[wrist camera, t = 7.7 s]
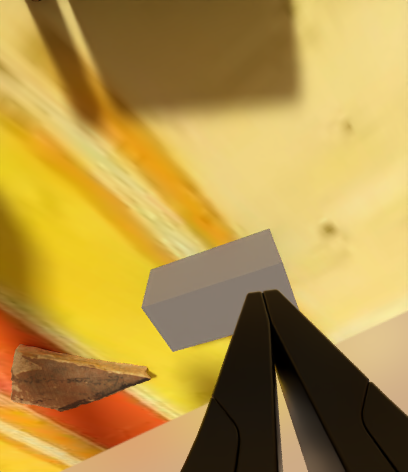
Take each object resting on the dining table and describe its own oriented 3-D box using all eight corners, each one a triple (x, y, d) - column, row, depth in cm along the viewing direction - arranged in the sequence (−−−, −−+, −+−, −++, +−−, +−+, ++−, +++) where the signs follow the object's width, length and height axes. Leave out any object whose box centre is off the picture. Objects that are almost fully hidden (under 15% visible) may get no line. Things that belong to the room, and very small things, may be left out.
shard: (153, 363, 31) (150, 382, 29) (135, 410, 36) (131, 429, 34) (21, 335, 29) (9, 354, 27) (20, 389, 34) (9, 409, 32)
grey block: (178, 310, 27) (173, 353, 23) (151, 268, 25) (141, 307, 21) (286, 277, 25) (301, 317, 21) (268, 227, 23) (282, 262, 19)
